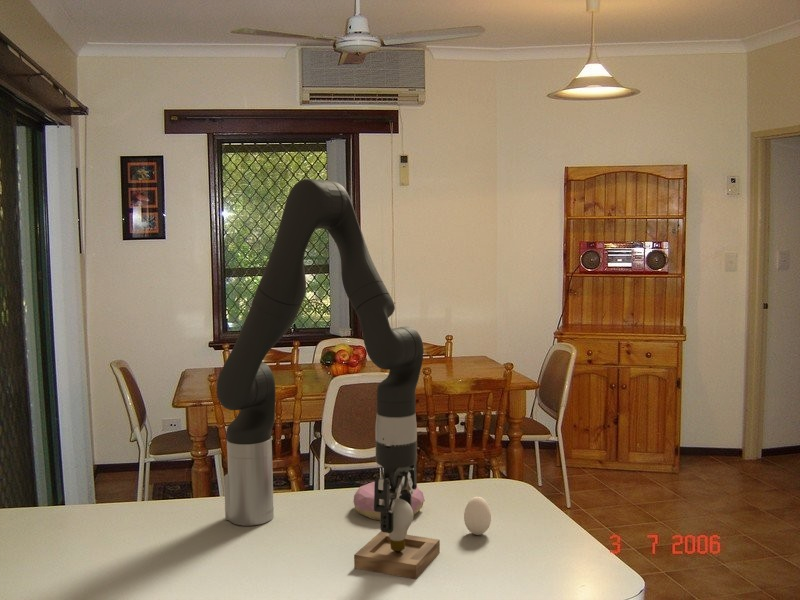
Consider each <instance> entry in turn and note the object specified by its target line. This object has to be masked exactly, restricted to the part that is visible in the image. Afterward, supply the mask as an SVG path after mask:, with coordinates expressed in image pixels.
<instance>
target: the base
mask: <svg viewBox="0 0 800 600" xmlns="http://www.w3.org/2000/svg"><path fill="white" fill-rule="evenodd" d="M440 543H441V542H440V539H437V538H432V537H427V536H426V537H424V536H418V535H413V534H412V535H411V534H407V535H406V537H405V549H403V550H402V551H401V552H399V553H396V552H394V551H393V550H392V549H391V545H390V544H391V543H390V537H389V534H388V533H386V532H382V531H381V530H380V531H379V532H378V533H377V534H376V535H375V536H374V537H372V539H370V540H369V541H368V542H367V543H366V544H365V545H364V546H362V547H361V548H360V549H359V550H358V551H356V552H355V553H354V554H353V559H354V561H353V562H354V566H353V567H354V569H357V570H363V571H369V572H370V571H371V572H373V573H374V572H375V573H379V574H387V575H392V576H398V577H402V578H403V577H404V578H410V579H416V580H417V578H418V577H419V576H420V575H421V574H422V573H423V572H424V571H425V570H426V569H427V567H428V566H429V565H430V564H431V563H432V562H433V561H434V560H435V558H436V557H437V556H438V555H439V554H440V551H441V546H440V545H441V544H440Z"/></svg>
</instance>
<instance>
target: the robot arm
mask: <svg viewBox="0 0 800 600" xmlns="http://www.w3.org/2000/svg"><path fill="white" fill-rule="evenodd" d="M316 229H318V230H319V229H320V230H327V232H328V233H329V234H330V236H331V238H332V239H333V240H334V243H335V244H336V247H337V249H338V253H339V257H340V269H341V281H342V285H343V289H344V291H345V294H346V296H347V298H348V300H349V302H350V304H351V307H352V308H353V310H354V312H355V314H356V315H357V317H358V321H359V324H360V330H361V334H362V338H363V343H364V347H365V351H366V354H367V355H368V358H369V359H370V361H371V362H372V363H373V364H374V365H375V366H377V368H379V369H381V370H385V371H386V370H387V371H388V370H389V372H388V375H387V377H386V378H384V379H383V380H382V381H380V383H378V385H377V388H376V418H375V419H376V420H375V462H376V463H377V465H379V466H381V467H382V469H383V472H382V477H375V479H374V482H375V488H374V511H376V512H381V520H380V532H381V531H382V532H386V533H391V532H392V531H393V509H394V505H395V502H396V501H398V500H399V499H403V500H405V501H406V502H408V503H409V504H410V506H411V496H412V495H413V489H414V490H416V488H418V483H417V482H418V481H417V478H418V477H417V473H418V471H417V460H418V459H417V458H418V435H417V434H418V430H417V429H418V427H417V426H418V425H417V424H418V423H417V416H416V389H417V386H418V383H419V378H420V374H421V369H422V365H423V361H424V360H423V359H424V353H425V352H424V350H425V349H424V343H423V340H422V337H421V335H420V334H419V332H418V331H417V330H416V329H415V328H413V327H410V326H399V327H394V328H392V327H391V324H390V321H389V319H388V318H390V317H391V316H393V314H394V312H395V310H396V309H395V303H394V300H393V298H392V296H391V295H390V293H389V291H388V288H387V287H386V285H385V284H384V281H383V280H382V278H381V276H380V274H379V272H378V270H377V267H376V266H375V264H374V263H375V262H374V261H373V260H372V257H371V254H370V251H369V249H368V246H367V243H366V241H365V237H364V234H363V232H362V229H361V225H360V223H359V221H358V217H357V214H356V212H355V209H354V205H353V203H352V199H351V197H350V195H349V193H348V191H347V190H346V189H345V187H344V186H343V185H342V184H341V183H339V182H336V181H333V180H326V179H325V180H324V179H316V178H305V179H301V180H299V181H298V182H296V183H295V184H294V185H293V187H292V188H291V189H290V191H289V193H288V196H287V199H286V201H285V205H284V208H283V210H282V215H281V219H280V224H279V227H278V230H277V234H276V238H275V241H274V242H273V243H274V244H273V247H272V250H271V252H270V255H269V258H268V260H267V263H266V267H265V269H264V271H263V274H262V277H261V279H260V280H259V283H258V285H257V288H256V291H255V293H254V296H253V299H252V301H251V304H250V307H249V310H248V313H247V315H246V318H245V319H244V322H243V324H242V327H241V329H240V332H239V334H238V337H237V339H236V341H235V343H234V346H233V347H232V349H231V351H230V353H229V354H228V357H227V358H226V360H225V362H224V364H223V366H222V368H221V369H220V370H221V371H220V372H219V375H218V377H217V381H216V396H217V399H218V401H219V404H220V405H221V406H222V407H223V408H225V409H227V410H230V411H239V412H238V414H237V416H236V417H235V418H234V419H233V421H231V422H229V425H227V427H226V452H227V453H226V454H227V473H226V474H225V475H224V477H223V486H224V487H223V488H224V490H223V491H224V511H225V512H224V514H225V515H224V516H225V520H226V521H229V522H230V523H232V524H235V525H236V526H237V525H238V526H244V527H246V526H258V525H262V524H265V523H268V522H270V521H271V520H273V518H274V513H275V512H274V509H275V507H274V483H273V482H274V478H273V476H274V475H273V471H274V470H273V444H272V442H273V441H272V430H273V428H274V424H275V420H276V382H275V376H274V374H273V371H272V370H271V368H270V367H269V365H268V364H267V363H265V362H263V361H264V360H265V358H266V356H267V354H268V353H269V352H270V351H271V350H272V348H274V346H276V344H277V343H278V342H279V341H280V340H281V339H282V338H283V336H284V335H285V334H286V333H287V332H288V331H289V329H290V328H291V327H292V325H293V324H294V322H295V320H296V319H297V316H298V314H299V311H300V309H301V306H302V304H303V302H304V299H305V296H306V294H307V293H306V292H307V279H306V278H307V277H306V272H305V271H306V270H305V265H304V262H305V255H306V251H307V248H308V245H309V242H310V240H311V237H312V236H313V234H314V232H315V231H316ZM391 494H393V495H391ZM400 494H401V495H400ZM379 499H380V503H379ZM390 500H391V501H390ZM389 501H390V505H389Z"/></svg>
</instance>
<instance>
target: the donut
mask: <svg viewBox="0 0 800 600" xmlns="http://www.w3.org/2000/svg"><path fill="white" fill-rule="evenodd" d="M374 488H375V481H372V482H369V483H367V484H363V485H361V486H359V487H358V489H357V490H356V492H355V493H354V494H353V504H354V508H355V510H356V511H357V512H358V513H359V514H360V515H362V516H365V517H366V518H369V519H372V520H375V521H376V520H378V521H381V512H376V511H374ZM391 495H393V494H391ZM400 495H401V494H400ZM425 500H426V499H425V496H424V493H423V491H422V490H421V489H420V488H419V487H417V488H416V490H414V489H413V495H412V496H411V508H412V510H413V516H414V515H415V514H417V513H418V512H419V511H421V509H422V508H423V506H424V502H425ZM379 503H380V499H379Z"/></svg>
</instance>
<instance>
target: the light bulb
mask: <svg viewBox="0 0 800 600" xmlns="http://www.w3.org/2000/svg"><path fill="white" fill-rule="evenodd" d="M390 501H391V500H390ZM390 501H389V505H390ZM413 520H414V515H413V510H412V508H411V506H410V504H409V503H408V502H406V501H405V500H403V499H399V500H398V501H396V502H395V505H394V509H393V531H392V532H391V533H388V534H389V537H390V543H391V544H390V545H391V549H392V550H393V551H394V552H396V553H399V552H401V551H402V550H403V549H405V537H406V535H408V534H407V533H408V530H409V528H410V527H411V525H412V523H413Z"/></svg>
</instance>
